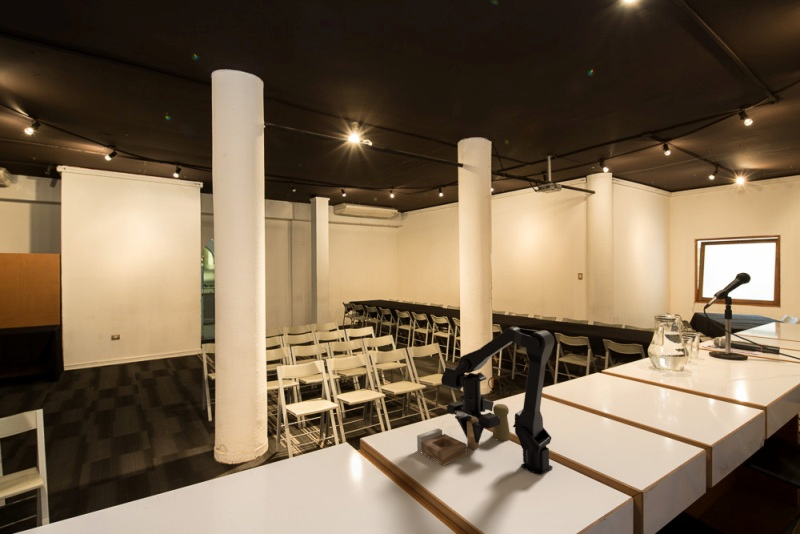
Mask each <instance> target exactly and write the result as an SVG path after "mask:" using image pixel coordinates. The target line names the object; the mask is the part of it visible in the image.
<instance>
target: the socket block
mask: <svg viewBox="0 0 800 534" xmlns="http://www.w3.org/2000/svg"><path fill="white" fill-rule="evenodd" d="M467 448H468V447H467V443H466V442H463V441H460V440H458V439H456V438H454V437H452V436H450V435H448V434H445V433H442V435H440V436H437V437H434V438H432V439H429V440H426V441H423V442H421V452H422V453H423V454H422V453H421V454H422V455H424V454H425V455H427V456H429V457H430V458H429V457H428V458H429V459H431V458H432V459H434V460H435V461H434V460H433V461H434V462H436V461H437V463H438V462H439V463H438V464H440V465H441V464H442V465H441V466H445V465H448V464H450V463H452V462H454V460H455V461H457V460H460V459H462V458H465V457H466V456H467V455H468V451H467V450H468V449H467ZM425 455H424V456H425ZM427 456H426V457H427ZM461 457H462V458H461ZM459 458H460V459H459ZM432 459H431V460H432ZM456 459H457V460H456ZM449 462H450V463H449ZM447 463H448V464H447ZM444 464H445V465H444Z"/></svg>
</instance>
